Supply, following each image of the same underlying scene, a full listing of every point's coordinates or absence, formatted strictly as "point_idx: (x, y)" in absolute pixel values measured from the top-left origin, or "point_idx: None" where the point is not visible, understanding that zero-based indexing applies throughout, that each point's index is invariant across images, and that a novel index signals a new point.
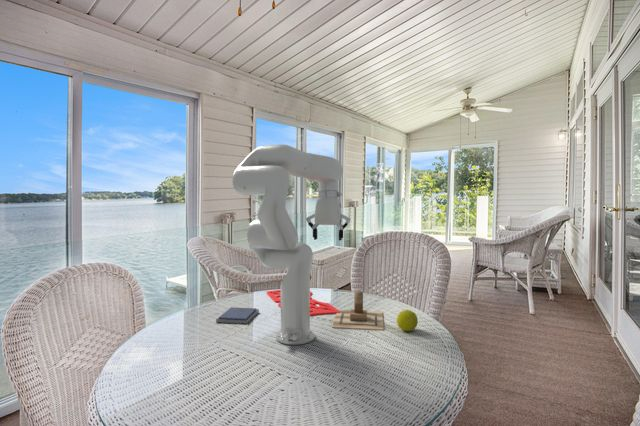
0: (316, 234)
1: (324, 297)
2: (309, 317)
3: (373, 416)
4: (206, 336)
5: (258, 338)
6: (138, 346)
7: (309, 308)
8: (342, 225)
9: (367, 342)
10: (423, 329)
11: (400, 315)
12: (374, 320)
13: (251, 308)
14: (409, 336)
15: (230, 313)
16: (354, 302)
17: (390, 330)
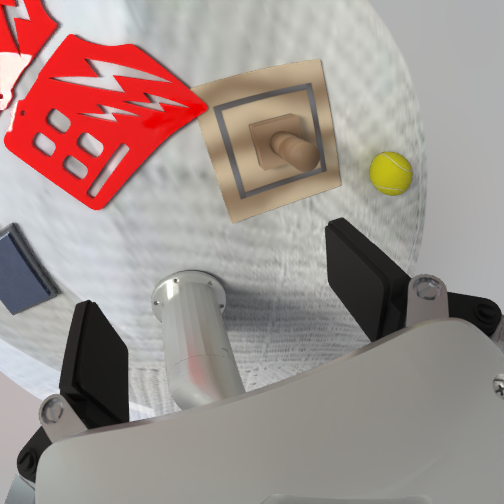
0: (113, 368)
1: None
2: (223, 321)
3: None
4: (63, 353)
5: (132, 328)
6: (43, 393)
7: (227, 335)
8: (445, 317)
9: (317, 254)
10: (402, 150)
11: (388, 191)
12: (315, 137)
13: (1, 241)
14: (380, 195)
15: (4, 289)
16: (281, 155)
17: (351, 179)
